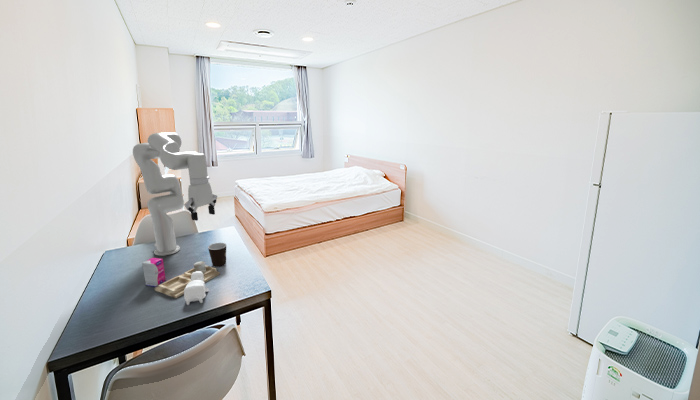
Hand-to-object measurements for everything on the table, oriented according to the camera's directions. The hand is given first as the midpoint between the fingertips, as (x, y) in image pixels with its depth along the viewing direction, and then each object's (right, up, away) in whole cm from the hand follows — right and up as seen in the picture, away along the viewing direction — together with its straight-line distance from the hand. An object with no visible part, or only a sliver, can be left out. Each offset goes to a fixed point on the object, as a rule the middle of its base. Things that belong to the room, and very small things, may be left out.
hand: (203, 217), depth 147 cm
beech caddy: (-6, -30, -2) cm, 30 cm away
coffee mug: (+1, -25, +17) cm, 30 cm away
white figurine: (+3, -33, -13) cm, 35 cm away
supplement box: (-20, -30, -3) cm, 36 cm away
